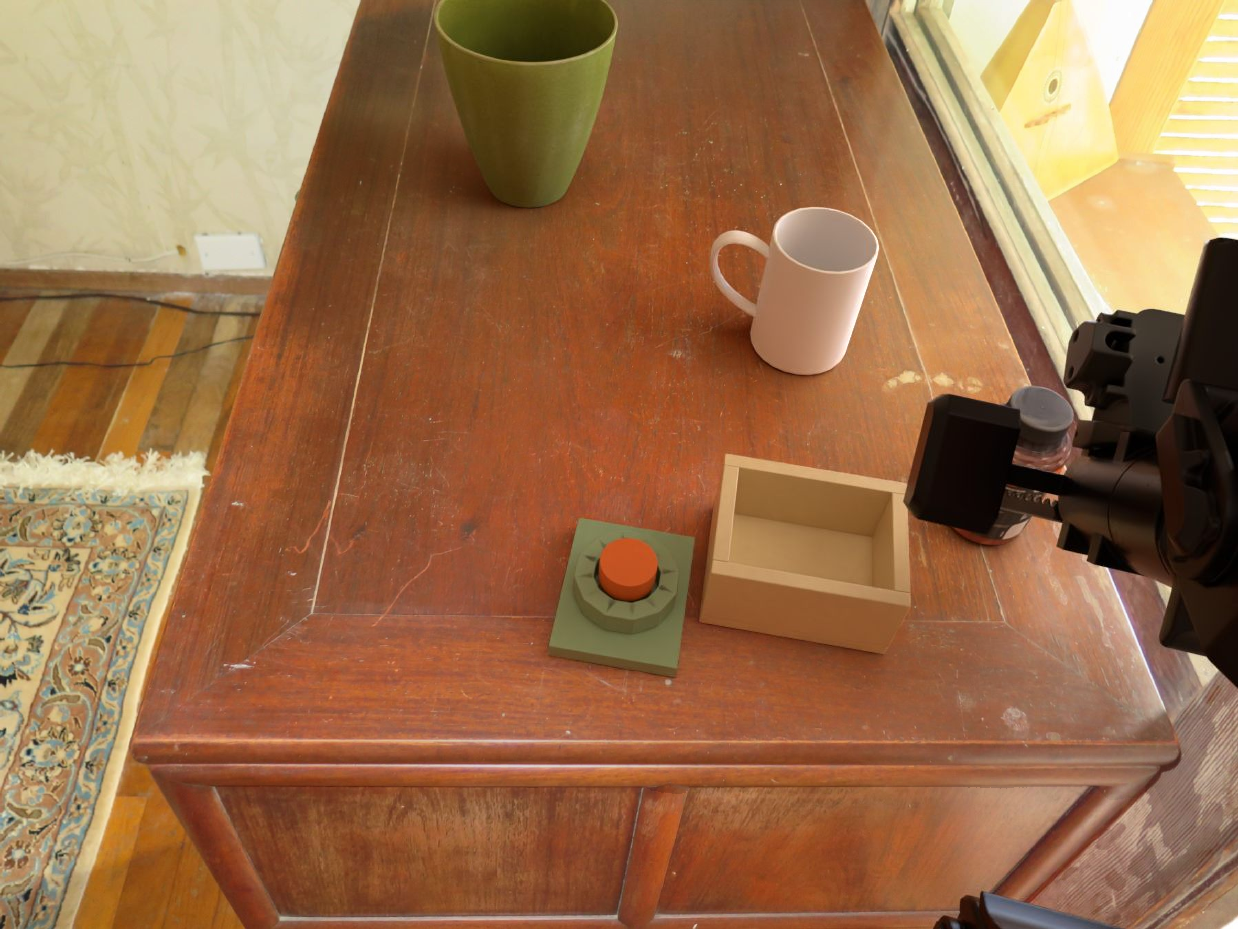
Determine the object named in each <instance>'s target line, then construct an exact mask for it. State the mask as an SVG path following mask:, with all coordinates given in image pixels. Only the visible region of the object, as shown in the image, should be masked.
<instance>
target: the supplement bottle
mask: <svg viewBox="0 0 1238 929" xmlns="http://www.w3.org/2000/svg"><path fill="white" fill-rule="evenodd" d="M999 405H1004V406H1009V407H1013V408H1018V409H1020V414H1021V430H1020V434H1019V438H1018V442H1017V445H1016V449H1015V453H1014V457H1013V461H1012V464H1017V465H1021V466H1026V467H1030V468H1035V469H1039V470H1044V471H1049V472H1053V473H1058V474H1061V473H1062V470H1063V468H1064V467H1065V465H1067V462H1068V460H1069V459H1070V456H1071V453H1072V440H1071V437H1070V435H1069V432H1068V431H1069V429H1070V428H1071V426H1072V424H1073V421H1074V410H1073V408H1072V406H1071V404H1070V403H1069V402H1068V400H1067V399H1066V398H1065V397H1064V396H1062V395H1061V394H1059V393H1058V392H1056V391H1054V390H1053V389H1050V388H1047V387H1043V386H1038V385H1024V386H1021V387H1019V388H1017V389H1016V390H1014V391H1013V392H1012V394H1011V395H1010V397H1009V398H1008V400H1007V401H1006V402H1003V403H1001V404H999ZM1005 489H1008V492H1009V495H1010V493H1011V492H1012V490H1013V491H1017V497H1018V495H1019V494H1020V493H1021V492H1022V493H1025V499H1026V498H1027V496H1028V495H1029V494H1031V495H1033V498H1034V500H1035V499H1036V497H1037V496H1040V497H1042V501H1044V499H1045V498H1046V497H1045V496H1046V495H1047V494H1048V493H1044V492H1039V491H1035V490H1030V489H1026V488H1021V487H1017V486H1012V485H1008V484H1006V488H1005ZM1032 518H1033V516H1028V515H1024V514H1019V513H1015V512H1010V511H1006V510H1002V509H1000V511H999V515H998V519H997V521H996V523H995V524H994V526H993V528H992V529H991V531H990V533H989V534H988V535H984V534H979V533H975V532H971V531H966V530H962V529H958V528H953V530H954V531H955V532H956V533H958V534H960V536H962V537H964V538H966V539H968V540H969V541H972V542H975V543H977V544H981V545H987V546H999V545H1005V544H1007V543H1010V542H1013V541H1014V540H1015V539H1017V538H1018V537H1019V536H1020V535H1021V533H1022V532H1023V531H1024V530H1025V528H1026V527H1027V526H1028V523H1030V520H1031V519H1032Z"/></svg>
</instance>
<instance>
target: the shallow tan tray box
mask: <svg viewBox="0 0 1238 929" xmlns="http://www.w3.org/2000/svg"><path fill="white" fill-rule="evenodd" d="M907 484H908V482H902V481H896V480H889V479H882V478H877V477H870V476H865V475H860V474H853V473H847V472H842V471H835V470H828V469H822V468H815V467H810V466H805V465H797V464H791V463H785V462H781V461H780V462H779V461H773V460H768V459H761V458H755V457H750V456H743V455H737V454H730V453H725V454H724V458H723V463H722V467H721V471H720V475H719V479H718V484H717V489H716V493H715V498H714V502H713V505H712V513H711V523H710V530H709V539H708V546H707V553H706V561H705V568H704V569H705V570H704V578H703V586H702V593H701V601H700V609H699V610H700V611H699V618H698V622H699V623H700V624H701V623H702V624H708V625H713V626H720V627H724V628H731V629H737V630H742V631H748V632H754V633H758V634H759V633H760V634H766V635H772V636H777V637H782V638H788V639H794V640H799V641H806V642H811V643H818V644H823V645H828V646H834V647H840V648H845V649H850V650H858V651H862V652H863V651H864V652H869V653H874V654H880V655H886V653H887V651H888V649H889V647H890V645H891V643H892V641H893V640H894V638H895V636H896V634H897V633H898V630H899V629H900V627H901V625H902V624H903V622H904V620H905V618H906V616H907V614H908V612H909V611H910V609H911V607H912V603H911V602H912V600H911V597H912V596H911V571H910V570H911V568H910V567H911V566H910V540H909V538H910V537H909V510H908V509H907V507H906V505H905V504H904V502H903V500H904V496H905V492H906V488H907Z"/></svg>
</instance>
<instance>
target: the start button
mask: <svg viewBox="0 0 1238 929" xmlns="http://www.w3.org/2000/svg"><path fill="white" fill-rule="evenodd" d="M657 567H658V561H657V557H656V554H655V553H654V551H653V550H652V548H651V547H650V546H648V545H647V544H646V543H644V542H642V541H640V540H637V539H632V538H622V539H618V540H615V541H613V542H611V543H610V544H608V545H607V546H606V547H605V548H604V550H603V551H602V553H601V556H600V563H599V574H598V576H599V582H600V585H601V587H602V588H603V590H604V591H605V592H606V593H607V594H608V595H610V596H611V597H613V598H615V599H618V600H622V601H635V600H638V599H641V598H643V597H645V596H646V595H647V594H648V593H649V592H650V591H651V590H652V588H653V586H654V584H655V579H656V573H657Z"/></svg>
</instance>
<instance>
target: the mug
mask: <svg viewBox="0 0 1238 929" xmlns="http://www.w3.org/2000/svg"><path fill="white" fill-rule="evenodd" d="M731 244H737V245H743V246H745V247H748V248H750V249H752V250H754V251H755V252H757V253H758V254H760V255H761V256H763V258H764V259H766V260H765V265H764V269H763V274H762V278H761V283H760V287H759V292H758V296H757V301H756V303H753V302H752V301H751V300H749V299H747V298H746V297H744V296H742V295H741V294H740V293H739V292H738V291H736V290H735V289H734V288H733V287H732V286H731V285H730V284H729V283H728V282H727V280H726V279H725V277H724V276H723V274H722V272H721V270H720V267H719V261H718V260H719V253H720V251H721V250H722V249H723V247H724V246H727V245H731ZM879 250H880V245H879V241H878V238H877V236H876V234H875V233H874V231H873V230H872V229H871V227H869V226H868V225H867V224H866V223H865V222H863V220H860V219H859V218H857V217H856V216H854V215H852V214H849V213H847V212H844V211H842V210H838V209H834V208H829V207H821V206H820V207H819V206H810V207H800V208H797V209H794V210H791V211H788V212H787V213H785V214H783V215H782V216H780V217H779V218H778V219H777V221H776V222H775V224H774V225H773V230H772V234H771V238H770V243H769V245H768V244H767V243H766V242H765V241H764V240H762V239H761V238H759V237H758V236H756V235H753V234H752V233H749V232H746V231H743V230H737V229H736V230H735V229H734V230H727V231H725V232H723V233H721V234H719V235H718V236H717V238H715V240H714V241H713V243H712V245H711V247H710V255H709V271H710V274H711V277H712V281H713V282H714V284H715V285H716V287H717V288H718V290H719V291H720V293H721V294H722V295H723V296H724V297H725V298H726V299H727V300H728V301H730V302H731V303H732V304H733V305H734V306H735V307H737V308H738V309H739V310H741V311H743V312H744V313H746V314H747V315H748V316H749V315H750V316H751V317H752V323H751V328H750V334H749V335H750V342H751V344H752V346H753V348H754V351H755V352H756V354H757V355H758V356H759V357H760V358H761V359H762V360H763V361H764V362H766V363H767V364H769V365H770V366H771V367H773V368H776V369H778V370H780V371H782V372H784V373H789V374H794V375H800V376H803V375H804V376H813V375H819V374H822V373H825V372H827V371H831V370H832V369H833V368H834V367H836V366H837V365H838V364H839V363H841V361H842V360H843V358H844V356H845V355H846V352H847V349H848V346H849V343H850V340H851V337H852V335H853V331H854V328H855V325H856V322H857V319H858V316H859V313H860V310H861V307H862V305H863V304H862V303H863V300H864V298H865V295H866V291H867V288H868V286H869V283H870V279H871V276H872V273H873V272H874V268H875V265H876V261H877V258H878V255H879Z"/></svg>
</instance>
